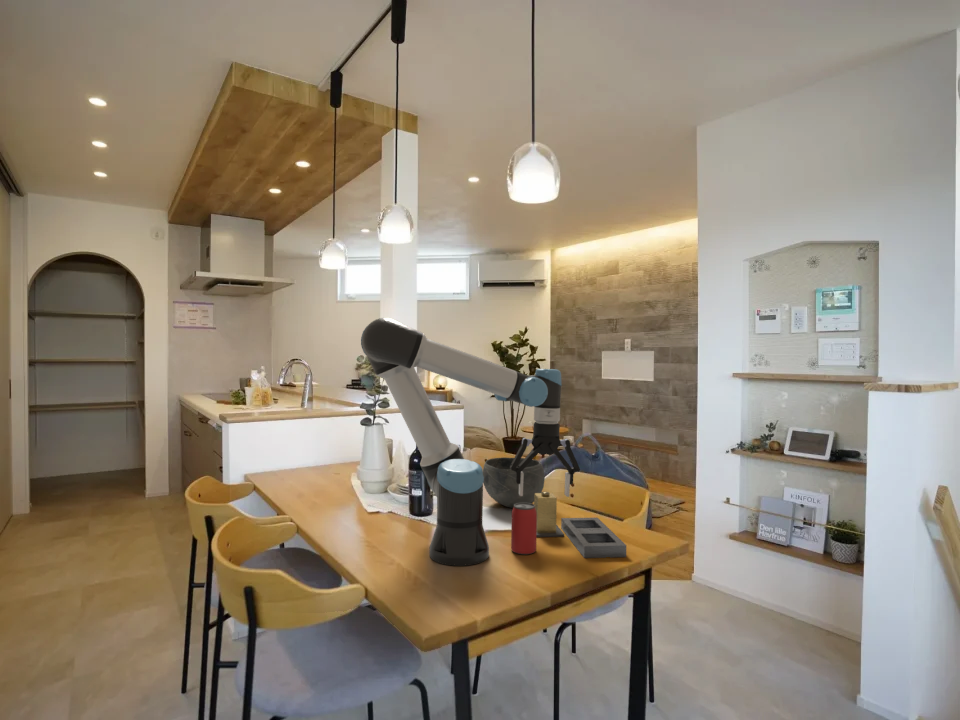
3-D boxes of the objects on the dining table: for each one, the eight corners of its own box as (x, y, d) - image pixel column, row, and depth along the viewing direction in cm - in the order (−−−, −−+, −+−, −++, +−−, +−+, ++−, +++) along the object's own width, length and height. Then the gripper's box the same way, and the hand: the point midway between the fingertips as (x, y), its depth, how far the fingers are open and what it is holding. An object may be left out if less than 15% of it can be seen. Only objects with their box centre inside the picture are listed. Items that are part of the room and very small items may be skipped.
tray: (584, 558, 141) (584, 546, 141) (561, 528, 164) (561, 518, 164) (626, 557, 142) (626, 545, 142) (597, 527, 166) (597, 517, 165)
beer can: (505, 550, 146) (506, 504, 145) (523, 544, 150) (524, 500, 150) (523, 557, 140) (524, 510, 140) (541, 551, 145) (542, 506, 145)
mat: (532, 537, 156) (532, 535, 156) (527, 527, 165) (527, 525, 165) (564, 536, 157) (564, 534, 157) (556, 526, 166) (556, 524, 166)
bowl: (483, 496, 199) (483, 455, 199) (541, 498, 198) (542, 456, 198) (480, 513, 178) (481, 467, 178) (546, 515, 177) (547, 468, 177)
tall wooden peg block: (537, 532, 158) (538, 495, 158) (533, 527, 163) (534, 490, 163) (556, 532, 158) (556, 494, 158) (551, 526, 164) (552, 490, 164)
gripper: (505, 422, 156) (503, 498, 156) (592, 424, 158) (589, 499, 158) (502, 419, 163) (499, 491, 163) (585, 421, 165) (582, 492, 166)
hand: (543, 495), depth 161 cm, fingers open, 13 cm apart
